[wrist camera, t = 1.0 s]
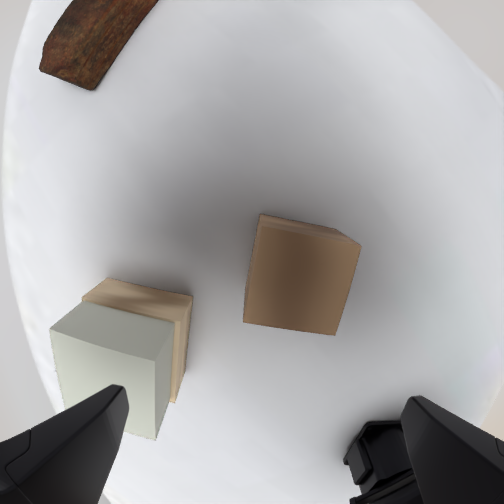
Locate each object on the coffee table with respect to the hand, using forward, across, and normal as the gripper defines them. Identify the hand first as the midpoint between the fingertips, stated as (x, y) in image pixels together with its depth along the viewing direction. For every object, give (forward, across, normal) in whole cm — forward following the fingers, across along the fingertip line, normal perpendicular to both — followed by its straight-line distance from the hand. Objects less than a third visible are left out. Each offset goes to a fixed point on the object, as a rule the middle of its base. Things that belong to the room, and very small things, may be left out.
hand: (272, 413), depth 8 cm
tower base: (+12, +8, +4) cm, 15 cm away
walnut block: (+12, -2, -2) cm, 13 cm away
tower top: (+8, +8, +4) cm, 13 cm away
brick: (+12, +12, -18) cm, 25 cm away
